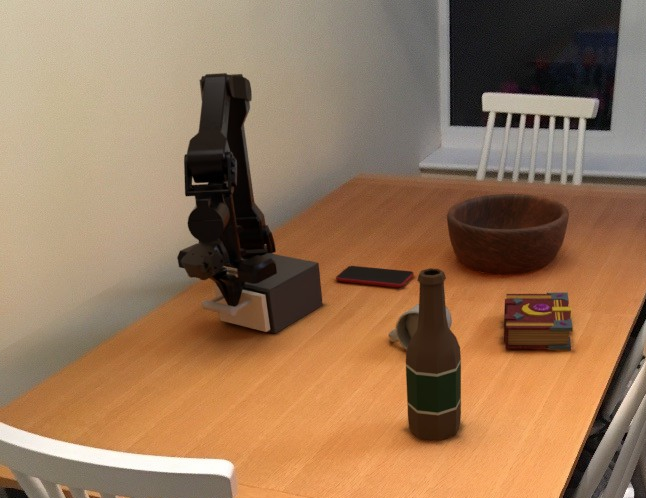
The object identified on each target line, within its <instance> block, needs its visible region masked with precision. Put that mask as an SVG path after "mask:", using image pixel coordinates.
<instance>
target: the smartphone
mask: <svg viewBox="0 0 646 498" xmlns="http://www.w3.org/2000/svg"><path fill="white" fill-rule="evenodd" d="M414 275H415V273H414V272H413V271H412V270H403V269H402V270H401V269H391V268H380V267H371V266H370V267H369V266H360V265H359V266H358V265H349V266H347V267H346V268H345V269H343V270H342V271H341V272H340V273H338V274H337V275H336V277H335V280H336V281H337V282H342V283H352V284H363V285H372V286H382V287H389V288H402V287H404V286H405V284H406V283H408V281H410V280H411V278H412V277H414Z"/></svg>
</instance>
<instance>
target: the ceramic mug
mask: <svg viewBox="0 0 646 498" xmlns="http://www.w3.org/2000/svg"><path fill="white" fill-rule="evenodd" d="M446 318H447V322H448V327H449V329H450V330H451V328H452V323H453V320H452V319H453V318H452V314H451V312H450V309H448V307H447V306H446ZM418 320H419V303H418V304H416V305H414V306H413V307H411V308H410V309H408V310H407V311H405V312H404V313H402V314H401V315H400V316H399V318H398V319H397V321H396V323H395V328H393V329H392V330H391V331H389V332H388V338H389V339H390V341H391V343H396V342H399V343H400V344H399V345H401V346H402V347H403V348H404V349H405V350H406V351H407V348H408V345H409V342H410V340H411V338H412V337H413V335H414V334H415V332H416V331H417V326H418Z"/></svg>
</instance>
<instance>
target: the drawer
mask: <svg viewBox="0 0 646 498" xmlns="http://www.w3.org/2000/svg"><path fill="white" fill-rule="evenodd" d="M213 288H214V289H213V290H214V294H215V297H214V298H212V299H211V300H208V299H204V300H202V302H201V307H202V309H204V310H207V311H212V312H216V313H218V317H219V321H222V322H225V323H229V324H232V325H237V326H240V327H245V328H249V329H253V330H257V331H260V332H265V333H267V331H269V330H270V324H271V321H270V314H269V307H268V300H267V293H266V292H264V294H260V293H256V292H252V291H247V290H244V287H243V290H242V293H241V296H240V299H239V303H238V305H237V306H235V307H233V306H229V305H228V304H227V302H226V301H225V299H224V297H223V295H222V293H221V291H220V290H219V288H218V286H217V285H216V284H215V285H214V286H213Z"/></svg>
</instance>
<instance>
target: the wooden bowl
mask: <svg viewBox="0 0 646 498" xmlns="http://www.w3.org/2000/svg"><path fill="white" fill-rule="evenodd" d="M569 217H570V212H569V209H568V208H567V206H566V205H564V203H562V202H560V201H558V200H555V199H553V198H549V197H545V196H540V195H533V194H524V193H501V194H500V193H498V194H487V195H481V196H476V197H471V198H468V199H465V200H461V201H460V202H457V203H455V204H454V205H452V206H451V207H450V208H449V209H448V211H447V213H446V221H447V230H448V235H449V240H450V244H451V248H452V250H453V252H454V255H455V256H456V258H457V259H458V261H459V262H460V263H461V264H462V265H463V266H464V267H466V269H467V268H468V269H469V270H472V271H475V272H478V273H482V274H488V275H499V276H512V275H522V274H523V275H524V274H529V273H533V272H536V271H539V270H542V269H544V268H546V267H547V266H549V265H550V264H551V263H552V262H553V261H554V260H555V259H556V257H557V256H558V254H559V253H560V251H561V248H562V246H563V243H564V241H565V237H566V234H567V233H566V232H567V229H568V223H569Z"/></svg>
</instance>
